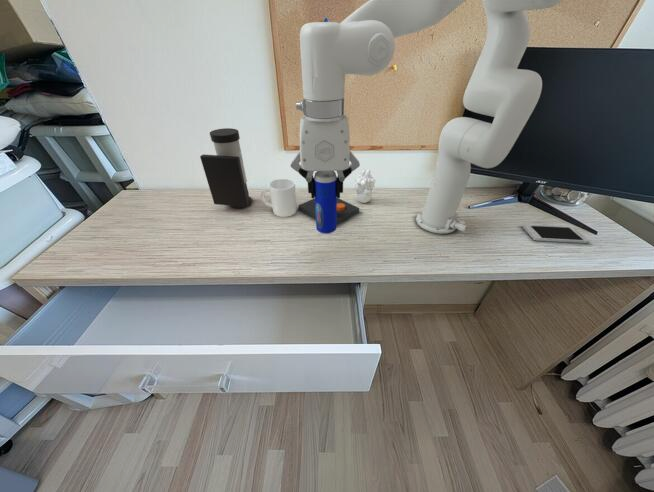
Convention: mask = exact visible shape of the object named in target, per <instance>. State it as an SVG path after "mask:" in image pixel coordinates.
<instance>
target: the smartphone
mask: <svg viewBox="0 0 654 492" xmlns="http://www.w3.org/2000/svg"><path fill="white" fill-rule="evenodd" d="M522 229H524V231H525V232H526V233H527V234H528V235H529V237H531V239H533V241H542V242H558V243H559V242H562V243H576V244H577V243H578V244H588V243H589V241H590V239H588V238H587V237H586V236H585V235H583V234H582V233H581V232H580V231H579V230H578V229H577V228H576V227H570V226H549V225H528V224H527V225H526V224H524V225H523V226H522Z"/></svg>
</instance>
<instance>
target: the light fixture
mask: <svg viewBox="0 0 654 492" xmlns="http://www.w3.org/2000/svg"><path fill="white" fill-rule="evenodd" d="M209 136H210V141H211V142H212V143H213V146H214V149H215V154H201V155H200V156H199V159H200V161H201V165H202V168H203V171H204V175H205V178H206V182H207V185H208V188H209V191H210V194H211V197H212V200H213V204H214V205H219V206H220V205H221V206H229V208H231V209H237V210H238V209H245V208H248V207H249V206H251V205H252V203H253V200H252V197H251V196H250V195H249V190H248V184H247V182H248V179H247V174H246V170H245V164H244V159H243V154H242V148H241V145H240V139H241V137H240V132H239V130H238V129H236V128H230V127H224V128H217V129H213V130H211V131H210V132H209Z"/></svg>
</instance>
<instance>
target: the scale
mask: <svg viewBox="0 0 654 492" xmlns="http://www.w3.org/2000/svg"><path fill="white" fill-rule="evenodd" d="M338 203H343V204H345V210H344V211H337V224H336V226H338V225H340V224H342V223H343V222H345V221H347V220H348V219H350V218H352V217H354V216H355V215H357V214H359V213H360V207H358V206H356V205H354V204H352V203H349V202H347V201H345V200H343V199H341V198H338V197H337V204H338ZM297 210H298V211H299V212H301V213H303V214H305V215H306V216H308V217H309V218H311V219H313V220H315V221H316V211H315V198H311V199H309V200H307V201H305V202H302V203H300V204H297Z"/></svg>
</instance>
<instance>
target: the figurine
mask: <svg viewBox="0 0 654 492" xmlns="http://www.w3.org/2000/svg"><path fill="white" fill-rule="evenodd" d="M355 178H356V179H355V182H356V183H355V184H354V185H355V199H356V201H358V202H359V203H361V204H366V203H368V202H370V201H371V199H372V198H373V189H374V188H375V184H376V179H375V178H374V177H373V176H372V174H371V170H370V169H367V170H366V169H364V168H363V169H362V170H361V172H360V173H358V174H357V176H356V177H355Z"/></svg>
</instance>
